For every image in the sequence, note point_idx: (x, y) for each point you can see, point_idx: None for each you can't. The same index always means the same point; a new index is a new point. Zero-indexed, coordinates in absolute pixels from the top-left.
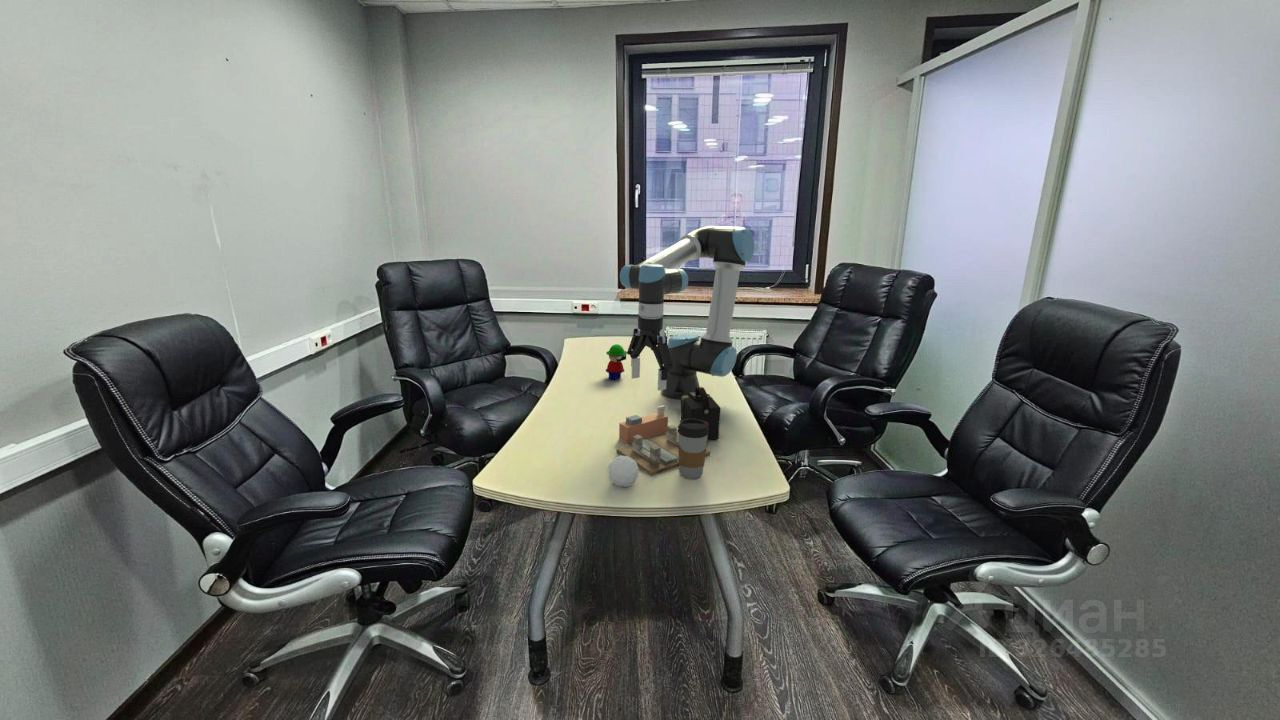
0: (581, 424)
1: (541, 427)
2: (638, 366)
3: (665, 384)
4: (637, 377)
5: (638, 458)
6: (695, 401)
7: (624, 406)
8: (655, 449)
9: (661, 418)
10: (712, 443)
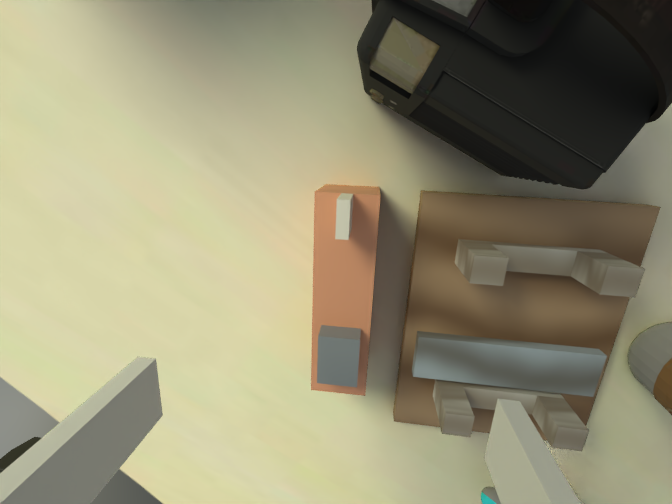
0: (166, 370)
1: (135, 453)
2: (75, 452)
3: (539, 445)
4: (156, 379)
5: (489, 417)
6: (526, 65)
7: (80, 156)
8: (582, 449)
9: (377, 234)
10: None
